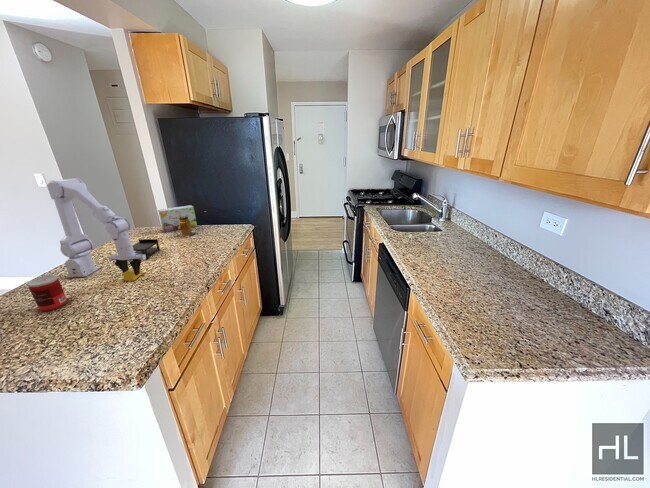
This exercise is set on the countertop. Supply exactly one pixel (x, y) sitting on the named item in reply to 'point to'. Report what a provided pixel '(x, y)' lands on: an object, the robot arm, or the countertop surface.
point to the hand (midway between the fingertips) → (132, 274)
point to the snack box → (176, 217)
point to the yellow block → (131, 275)
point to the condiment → (185, 226)
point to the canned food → (47, 292)
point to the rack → (146, 247)
